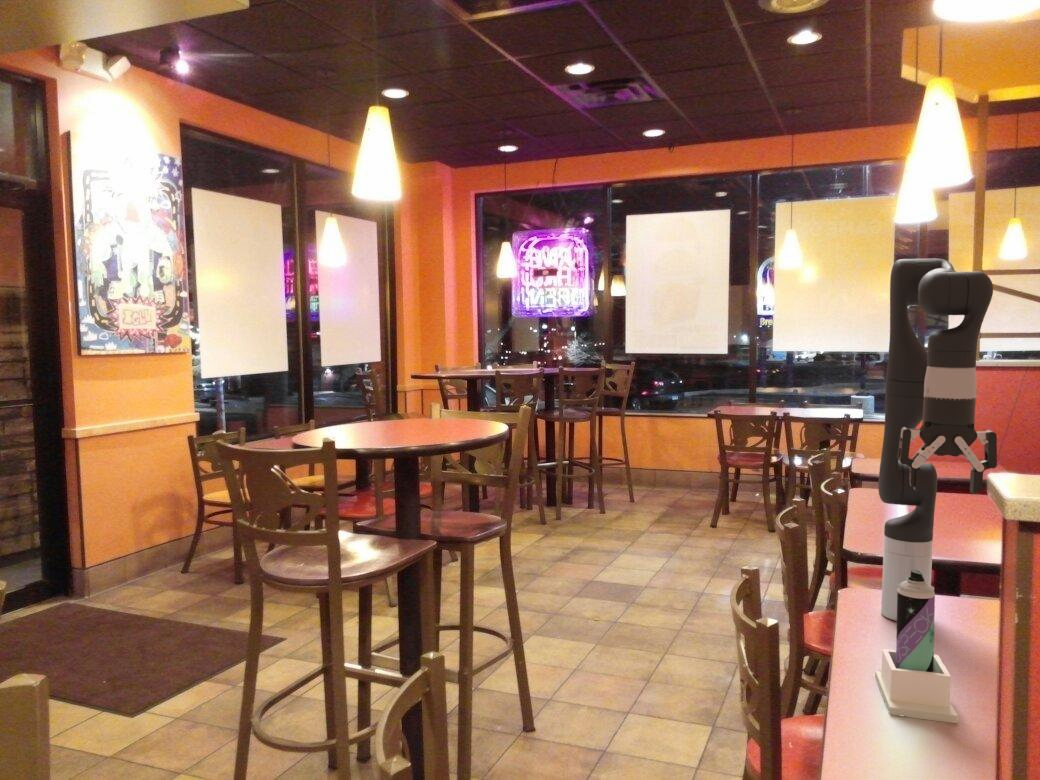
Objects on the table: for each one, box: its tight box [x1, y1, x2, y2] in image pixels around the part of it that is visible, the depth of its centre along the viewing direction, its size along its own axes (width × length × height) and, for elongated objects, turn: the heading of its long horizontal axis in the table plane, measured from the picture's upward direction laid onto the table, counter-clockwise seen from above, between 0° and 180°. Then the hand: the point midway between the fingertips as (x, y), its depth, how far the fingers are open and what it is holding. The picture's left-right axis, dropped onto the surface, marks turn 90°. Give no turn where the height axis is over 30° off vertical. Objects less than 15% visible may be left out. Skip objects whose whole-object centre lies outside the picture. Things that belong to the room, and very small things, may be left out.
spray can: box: [895, 570, 936, 672], centre depth 128 cm, size 6×6×20 cm
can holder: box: [874, 648, 958, 724], centre depth 128 cm, size 14×10×6 cm
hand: (944, 491), depth 130 cm, fingers open, 8 cm apart
